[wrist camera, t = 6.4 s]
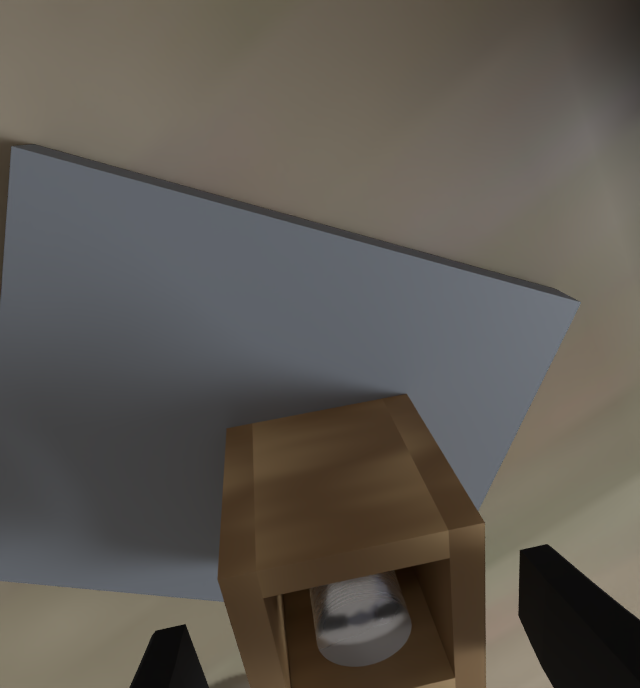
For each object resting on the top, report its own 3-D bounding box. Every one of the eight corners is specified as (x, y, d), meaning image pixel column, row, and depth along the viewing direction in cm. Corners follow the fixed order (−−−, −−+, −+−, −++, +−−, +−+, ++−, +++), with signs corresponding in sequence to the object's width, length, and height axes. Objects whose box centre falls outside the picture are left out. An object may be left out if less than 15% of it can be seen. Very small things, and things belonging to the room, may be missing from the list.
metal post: (363, 438, 16) (425, 603, 10) (344, 490, 17) (393, 669, 11) (301, 427, 15) (332, 594, 10) (284, 480, 16) (305, 663, 11)
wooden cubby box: (407, 393, 14) (484, 522, 9) (417, 530, 16) (485, 690, 12) (226, 428, 14) (217, 579, 9) (260, 563, 16) (267, 742, 11)
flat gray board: (556, 289, 15) (581, 302, 14) (413, 591, 19) (424, 620, 18) (33, 143, 12) (11, 146, 10) (-1, 547, 16) (-20, 579, 15)
